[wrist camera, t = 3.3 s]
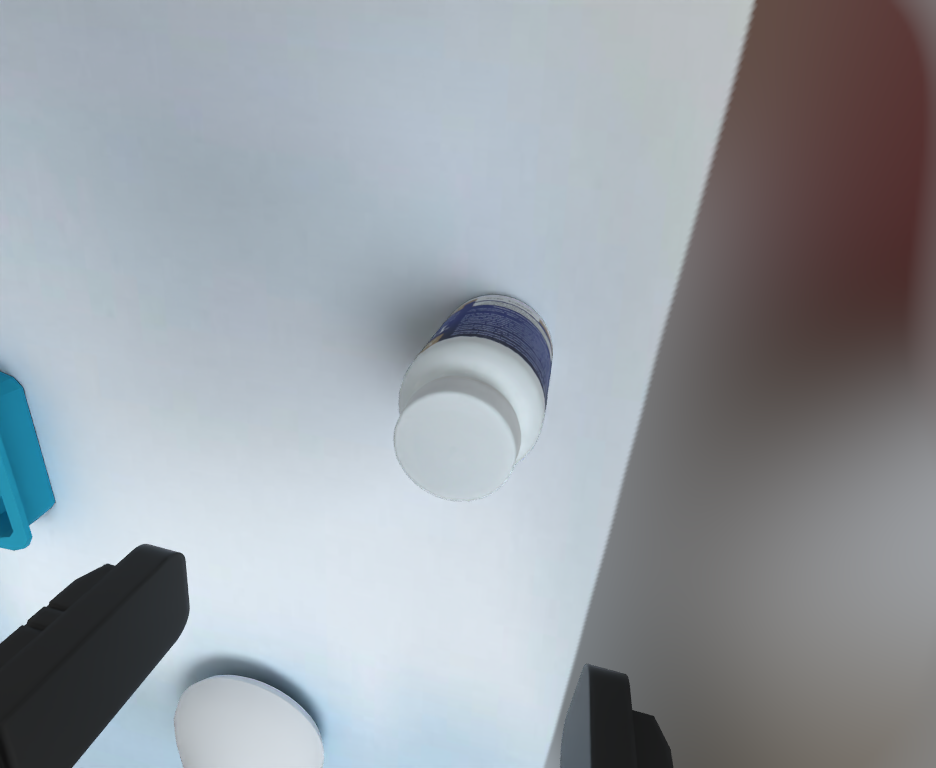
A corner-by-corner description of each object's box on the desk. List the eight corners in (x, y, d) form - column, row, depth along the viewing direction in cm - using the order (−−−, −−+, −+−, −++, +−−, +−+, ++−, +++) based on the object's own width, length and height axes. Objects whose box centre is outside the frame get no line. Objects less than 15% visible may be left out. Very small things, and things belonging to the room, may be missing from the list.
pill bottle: (450, 280, 25) (379, 352, 16) (565, 305, 24) (556, 393, 16) (434, 385, 27) (364, 497, 18) (539, 410, 27) (518, 538, 18)
